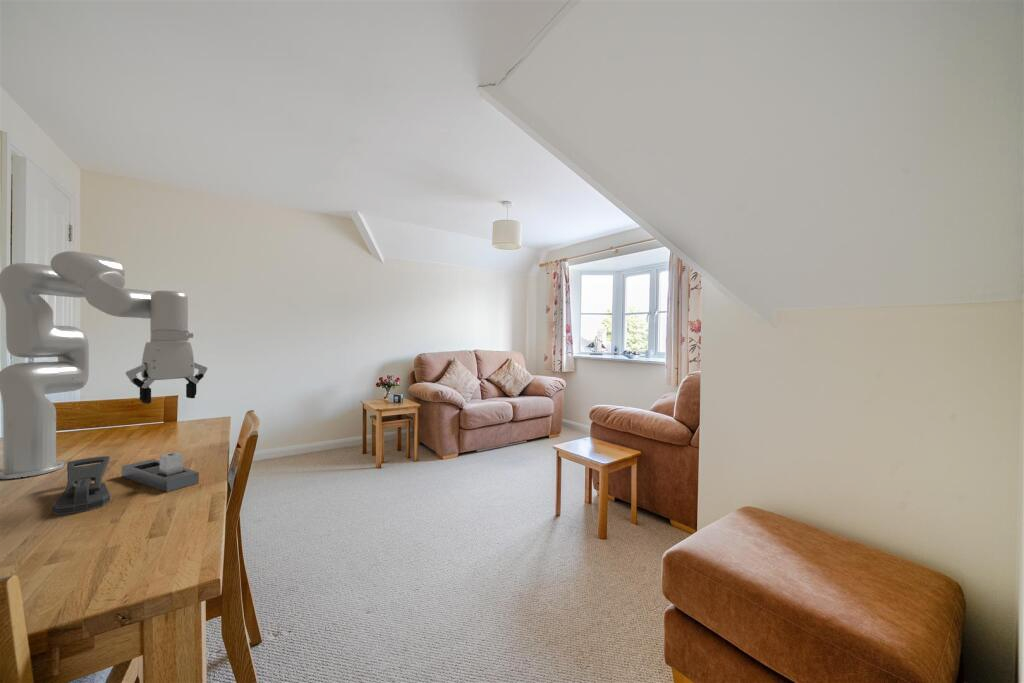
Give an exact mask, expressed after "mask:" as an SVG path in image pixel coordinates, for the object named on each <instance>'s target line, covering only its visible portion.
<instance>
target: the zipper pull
mask: <svg viewBox="0 0 1024 683" xmlns="http://www.w3.org/2000/svg"><path fill="white" fill-rule="evenodd" d="M110 459H111V458H110V456H109V455H106V456H105V455H104V456H95V457H89V458H80V459H75V460H71V461H67V463H66V464H67V465H66V468H67V482H66V487H65V490H64V491H63V492H62V493H61V494H60V495H59V496H58V498H57V499H55V501H54V502H52V505H51V507H52V510H51V511H52V515H55V516H57V517H59V516H60V515H61V516H67V515H74V514H79V513H83V512H84V513H85V512H89V511H92V509H93V510H96V509H100V508H103V507H105V506H106V505H108V504H109V503H111V494H110V491H109V488H108V487H107V484H106V483H105V482H103V481H102V480H103V476H104V473H106V472H105V471H106V469H107V467H108V464H109V462H110ZM91 481H92V482H94V483H92V482H91ZM107 503H108V504H107ZM104 505H105V506H104ZM102 506H103V507H102ZM99 507H100V508H99ZM95 508H96V509H95ZM61 516H60V517H61Z"/></svg>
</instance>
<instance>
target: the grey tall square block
mask: <svg viewBox="0 0 1024 683" xmlns="http://www.w3.org/2000/svg"><path fill="white" fill-rule="evenodd" d="M159 461H160V476H163V477H168V476H171V475H175V474H179V473H183V468H184V454H183V453H182V452H178V451H174V452H169V453H165V454H160V455H159Z"/></svg>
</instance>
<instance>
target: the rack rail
mask: <svg viewBox="0 0 1024 683" xmlns="http://www.w3.org/2000/svg"><path fill="white" fill-rule="evenodd" d="M199 473H200V472H199V471H197V470H192V469H188V468H186V467H183V473H179V474H175V475H171V476H168V477H163V476H160V460H158V459H155V458H152V459H148V460H143V461H138V462H134V463H130V464H129V463H128V464H125V465H122V466H121V477H122V476H124V477H123V478H125V477H126V478H125V479H128V480H130V479H131V481H133V480H134V482H137V483H140V484H142V485H145V486H148V487H150V486H151V488H153V487H154V488H153V489H156V488H157V490H160V491H163V492H165V491H166V492H165V493H170V492H173V491H176V489H177V490H180V489H183V488H182V487H184V488H186V487H185V486H187V487H190V486H189V485H191V486H193V485H192V484H194V485H197V484H199V480H200V479H199V478H200V476H199ZM196 483H197V484H196ZM179 488H180V489H179ZM172 490H173V491H172ZM169 491H170V492H169Z"/></svg>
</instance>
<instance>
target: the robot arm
mask: <svg viewBox="0 0 1024 683" xmlns="http://www.w3.org/2000/svg"><path fill="white" fill-rule="evenodd" d="M125 283H126V281H125V269H124V266H123V265H122V264H121V263H120V262H119V261H118V260H116V259H114V258H112V257H110V256H109V257H108V256H104V255H98V254H91V253H86V252H81V251H73V250H72V251H63V252H62V251H61V252H59V253H57V254H55V255H53V256H52V258H51V260H50V265H48V264H47V265H46V264H39V263H29V262H19V263H18V262H17V263H12V264H9V265H7V266H5V267H4V268H3V269H2V270H1V271H0V297H1V298H2V301H3V304H4V307H5V308H4V309H5V338H6V339H5V340H6V341H5V343H6V350H7V351H8V353H9V354H10V355H11V356H14V357H16V358H23V359H24V358H25V359H26V358H27V359H28V358H30V359H31V358H57V361H35V362H32V361H31V362H21V363H14V364H10V365H7V366H6V367H3V368H2V369H1V370H0V396H1V401H2V402H1V403H2V415H3V416H2V417H3V418H2V423H3V424H2V426H3V427H2V430H3V431H2V435H3V436H2V450H3V451H2V469H0V480H13V478H14V479H22V478H21V477H23V478H28V476H29V477H35V476H39V475H43V474H48V473H52V472H55V471H58V470H60V469H62V468H63V467H64V466H65V465H64V461H63V460H62V461H61V460H57V410H56V406H55V404H54V403H53V402H52V401H51V400H50V399H49V398H48V397H47V396H46V395H49V394H58V393H68V392H74V391H78V390H82V388H84V387H85V386H86V385H87V383H88V380H89V374H90V372H89V371H90V370H89V369H90V365H89V363H90V362H89V360H90V359H89V358H90V354H89V353H90V352H89V351H90V350H89V349H90V348H89V345H90V344H89V340H88V337H87V335H86V333H85V332H84V331H83V330H82V329H80V328H79V327H76V326H70V325H55V324H54V311H53V308H52V307H51V305H50V304H49V303H48V302H47V301H46V299H44V298H43V297H42V296H41V295H44V296H55V297H65V298H79V299H80V298H85V300H86V301H87V303H88V304H89V305H90V306H92V307H93V308H95V309H97V310H98V311H100V312H102V313H103V314H107V315H110V316H112V317H118V318H133V319H150V324H149V325H150V327H149V328H150V337H149V340H150V342H149V341H147V342H145V345H144V347H143V348H144V349H143V353H142V360H141V365H139V366H135V367H134V368H131V369H129V370H127V371H126V372H125V375H126V376H127V378H128V379H129V380H130V382H131V383H132V384H133V385H135V386H136V387H137V388H139V400H140V401H141V403H142V404H147V405H148V404H151V403H152V388H151V387H150V386H151V385H152V384H153V383H154V382H155V381H163V380H164V381H165V380H177V379H184V380H186V381H187V382H188V383H186V384H185V388H186V389H185V390H186V391H185V397H186V398H187V399H195V398H196V395H197V384H199V382H200V381H201V380H202V379H203V378H204V376H205V374H206V373H207V371H208V367H206V366H204V365H201V364H199V363H196V362H195V358H194V357H195V356H194V352H193V351H194V350H193V347H192V344H191V341H190V342H188V341H189V340H190V338H191V339H193V338H194V333H193V332H189V330H188V329H189V328H188V327H189V325H188V324H189V323H188V321H189V320H188V319H189V318H188V317H189V311H188V310H189V307H188V306H189V303H188V302H189V300H188V295H187V294H186V293H184V292H181V291H173V290H155V291H154V290H153V291H149V290H145V289H144V290H143V289H134V288H126V287H125ZM195 369H196V370H198V372H197V373H196V374H195ZM140 373H141V374H140ZM138 374H140V375H141V378H142V379H140V378H139V377H138V376H137V375H138Z"/></svg>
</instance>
